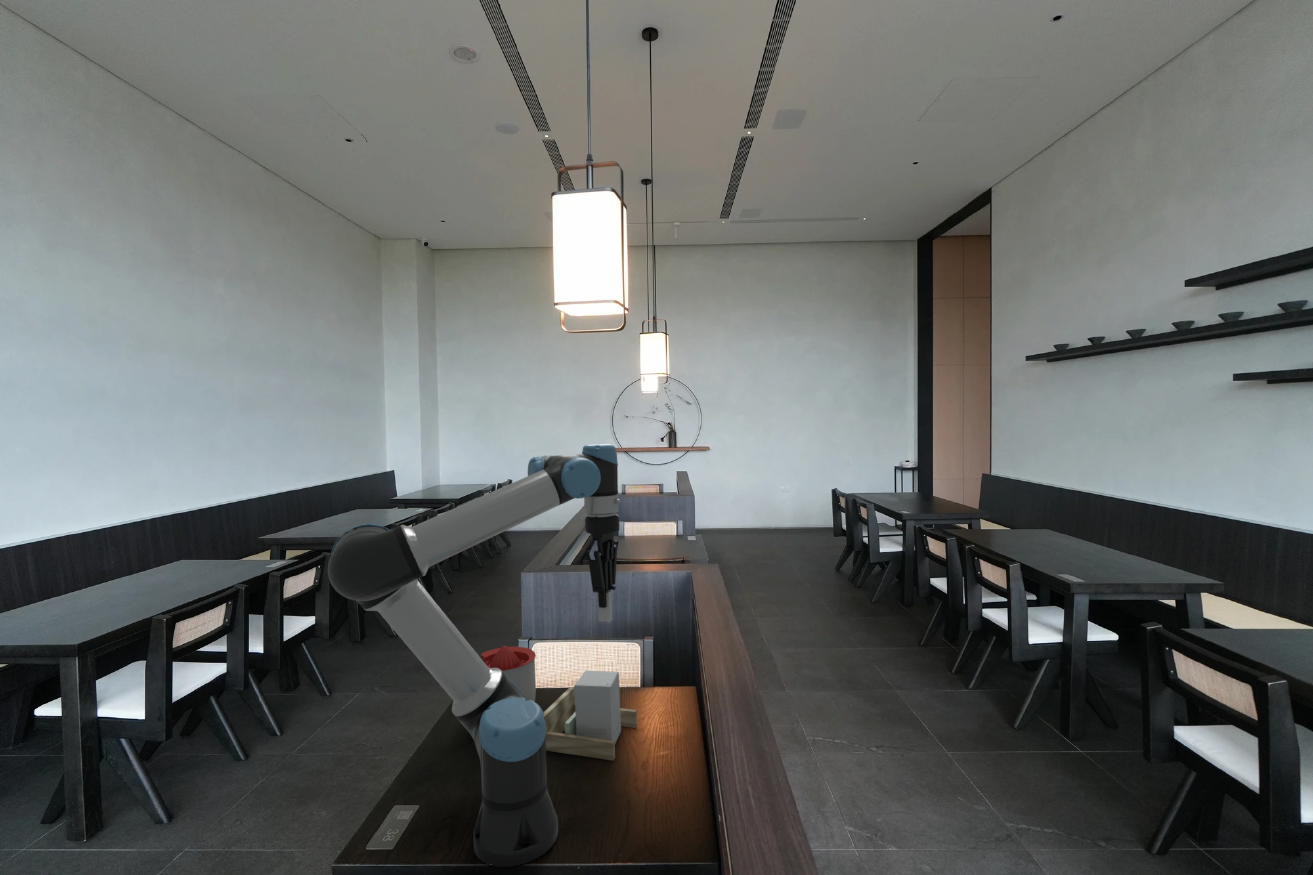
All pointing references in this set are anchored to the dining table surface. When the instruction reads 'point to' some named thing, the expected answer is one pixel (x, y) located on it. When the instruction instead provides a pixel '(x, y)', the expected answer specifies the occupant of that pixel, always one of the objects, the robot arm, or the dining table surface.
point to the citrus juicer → (515, 667)
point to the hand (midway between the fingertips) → (605, 620)
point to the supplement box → (598, 705)
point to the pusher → (571, 725)
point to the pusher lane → (574, 743)
